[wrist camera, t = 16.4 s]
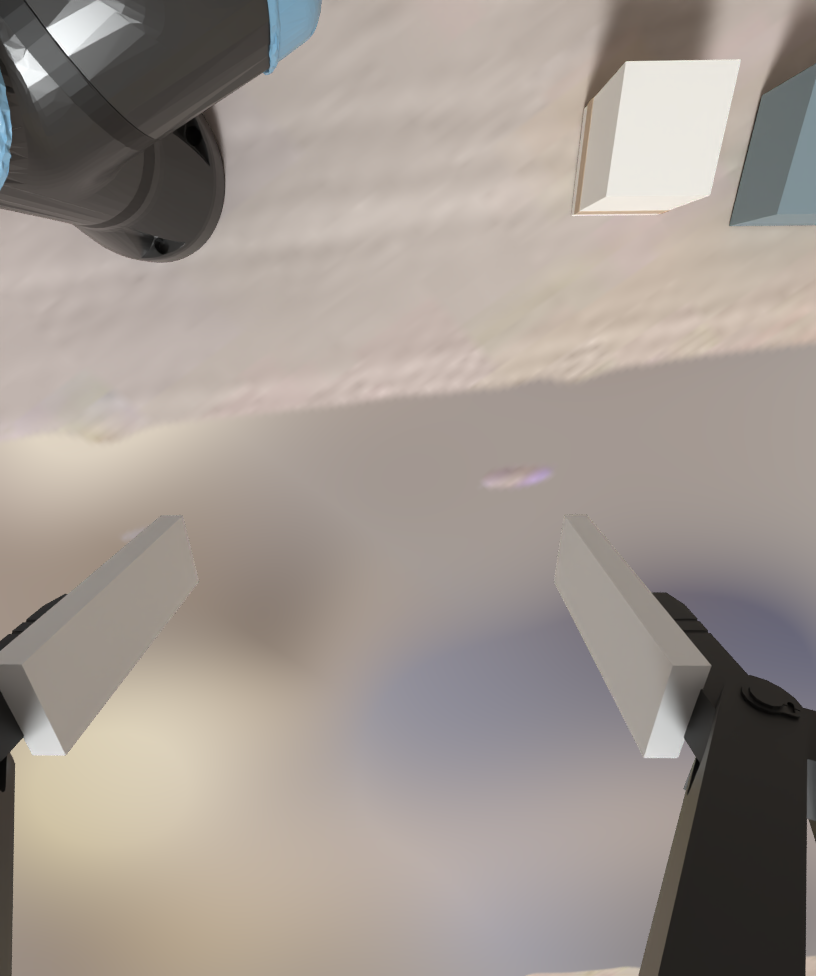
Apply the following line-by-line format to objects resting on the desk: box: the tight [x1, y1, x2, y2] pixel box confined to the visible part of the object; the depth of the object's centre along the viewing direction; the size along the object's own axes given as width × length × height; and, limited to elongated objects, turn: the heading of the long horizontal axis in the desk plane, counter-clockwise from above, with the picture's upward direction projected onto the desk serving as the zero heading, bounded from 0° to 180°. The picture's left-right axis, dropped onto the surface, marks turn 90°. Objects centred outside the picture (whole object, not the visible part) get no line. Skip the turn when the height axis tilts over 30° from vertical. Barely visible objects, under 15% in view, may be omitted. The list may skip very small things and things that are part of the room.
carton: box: [571, 59, 741, 216], centre depth 35 cm, size 8×8×8 cm
